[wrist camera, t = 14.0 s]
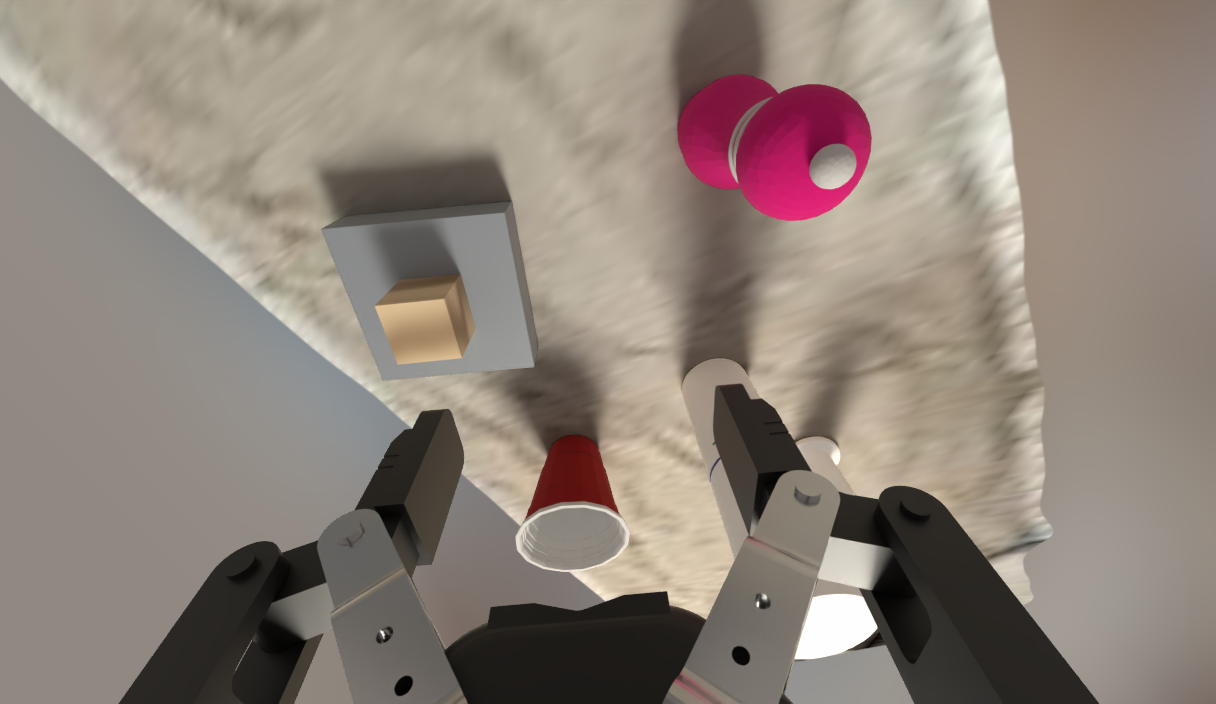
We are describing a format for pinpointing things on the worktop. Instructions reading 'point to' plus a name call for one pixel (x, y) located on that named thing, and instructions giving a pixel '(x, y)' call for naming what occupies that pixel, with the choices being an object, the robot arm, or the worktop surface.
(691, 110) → the pepper mill
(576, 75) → the worktop surface
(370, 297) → the slate plinth
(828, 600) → the cylindrical container
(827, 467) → the candle
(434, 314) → the oak cube
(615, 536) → the plastic cup
